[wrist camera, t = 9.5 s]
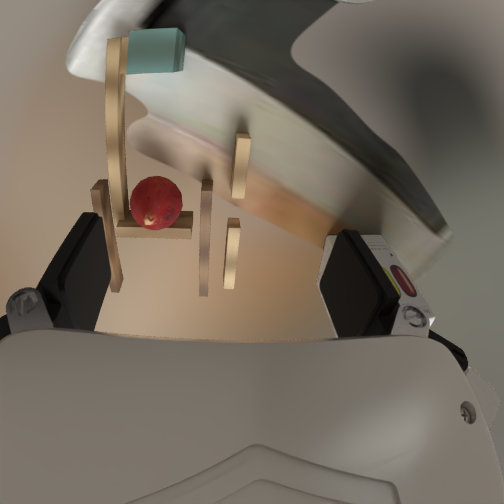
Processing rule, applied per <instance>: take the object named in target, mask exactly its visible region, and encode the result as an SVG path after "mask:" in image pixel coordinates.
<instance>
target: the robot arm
mask: <svg viewBox="0 0 504 504" xmlns="http://www.w3.org/2000/svg"><path fill="white" fill-rule="evenodd" d="M335 1H338V2H343V3H348V4H362V3H368V2H371V1H375V0H335ZM110 280H111V267H110V262H109V256H108V250H107V244H106V238H105V231H104V224H103V218H102V217H101V216H99V215H98V213H94V212H84V213H82V215H81V216H80V218H79V219H78V220H77V222H76V223H75V225H74V226H73V228H72V229H71V231H70V232H69V234H68V235H67V237H66V238H65V240H64V242H63V243H62V245H61V246H60V248H59V250H58V251H57V253H56V254H55V256H54V258H53V259H52V261H51V263H50V264H49V266H48V268H47V269H46V271H45V273H44V275H43V277H42V278H41V280H40V282H39V284H38V286H37V287H36V289H35V288H31V287H27V288H22V289H19V290H18V291H16V292H15V293H14V294H13V295H12V296H10V298H9V300H8V301H7V304H6V313H7V314H6V315H4V316H2V317H1V318H0V504H504V482H503V478H502V473H501V469H500V465H499V461H498V458H497V454H496V451H495V447H494V444H493V441H492V437H491V435H490V432H489V431H490V428H491V426H492V424H493V422H494V419H495V417H496V414H497V412H498V409H499V407H500V398H499V396H498V394H497V392H496V391H495V390H494V389H493V388H492V387H491V386H490V385H489V384H488V383H487V382H486V381H485V380H484V378H482V376H481V375H479V373H478V372H476V371H475V370H474V368H473V367H470V368H468V361H467V357H466V355H465V353H464V351H463V350H462V349H461V348H459V347H458V346H456V345H454V344H453V343H451V342H449V341H448V340H446V339H445V338H443V337H441V336H440V335H438V334H436V333H435V332H433V331H431V330H430V329H429V327H430V320H429V318H428V316H427V314H426V313H425V311H423V310H422V309H421V308H420V307H418V306H417V305H415V304H412V303H403V304H402V305H400V304H399V302H398V301H399V299H400V298H401V297H400V295H399V294H398V292H397V290H396V289H395V287H394V286H393V284H392V282H391V281H390V279H389V278H388V276H387V274H386V273H385V271H384V270H383V268H382V267H381V265H380V263H379V262H378V260H377V259H376V257H375V256H374V254H373V253H372V251H371V250H370V248H369V247H368V245H367V244H366V243H365V241H364V240H363V238H362V237H361V235H360V234H359V232H358V231H356V230H348V229H344V230H342V232H339V233H338V235H337V237H336V240H335V243H334V245H333V248H332V251H331V254H330V256H329V259H328V262H327V264H326V267H325V270H324V272H323V275H322V277H321V280H320V284H319V287H320V291H321V294H322V296H323V299H324V301H325V304H326V306H327V309H328V312H329V314H330V317H331V320H332V322H333V325H334V328H335V330H336V333H337V336H338V338H327V339H304V340H303V339H302V340H209V339H184V338H167V337H151V336H139V335H128V334H117V333H107V332H97V331H94V329H95V325H96V322H97V319H98V316H99V312H100V309H101V306H102V303H103V300H104V297H105V294H106V291H107V288H108V286H109V283H110Z"/></svg>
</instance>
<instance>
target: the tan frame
mask: <svg viewBox="0 0 504 504" xmlns="http://www.w3.org/2000/svg"><path fill="white" fill-rule="evenodd" d="M185 44H186V35H185V34H184V33H182V32H181V31H180V30H179V29H178V28H161V29H145V30H134V31H129V37H124V38H121V37H120V38H112V39H108V42H107V56H106V79H105V120H106V121H105V123H106V146H107V160H108V173H109V183H110V192H111V201H112V209H113V216H114V223H115V229H116V231H117V237H134V238H171V239H191V233H192V225H193V211H180V214H179V216H178V218H177V219H176V220H175V221H174V222H173V223H172V224H171V225H170V226H169V227H167V228H164V229H161V230H149V229H146V228H143V227H142V226H141V225H139V224H138V223H137V222H136V221H135V219H134V217H133V216H132V214H131V210H129V200H128V189H127V175H126V158H125V130H124V97H125V95H124V94H125V73H126V74H140V73H163V72H178V71H183V63H184V53H185Z"/></svg>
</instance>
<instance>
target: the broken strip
mask: <svg viewBox="0 0 504 504" xmlns="http://www.w3.org/2000/svg"><path fill="white" fill-rule="evenodd" d="M250 145H251V137H250V135H249V134H247V133H236V141H235V150H234V160H233V170H232V180H231V197H232V198H243V199H244V194H245V186H246V177H247V169H248V161H249V153H250ZM239 236H240V221H239V218H228V224H227V236H226V249H225V260H224V273H223V283H224V289H234V281H235V272H236V263H237V254H238V246H239Z"/></svg>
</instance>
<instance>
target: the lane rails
mask: <svg viewBox="0 0 504 504" xmlns="http://www.w3.org/2000/svg"><path fill="white" fill-rule="evenodd" d="M212 187H213V180H202V189H201V215H200V259H199V264H200V265H199V296H208V275H209V274H208V273H209V272H208V271H209V247H210V225H211V223H210V222H211V205H212ZM90 191H91V197H92V204H93V210H94V213H98V215H99V216H101V217H102V218H103V224H104V231H105V238H106V244H107V250H108V256H109V262H110V267H111V280H110V283H109V285H110V288H111V292H117V293H119V291H120V288H121V284H122V282H123V274H122V269H121V265H120V260H119V254H118V249H117V243H116V237H115V231H114V225H113V218H112V211H111V204H110V195H109V187H108V180H105V179H103V180H98V182H97V183H96V184H95V185H94V186H93V188H92V189H91V190H90Z"/></svg>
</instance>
